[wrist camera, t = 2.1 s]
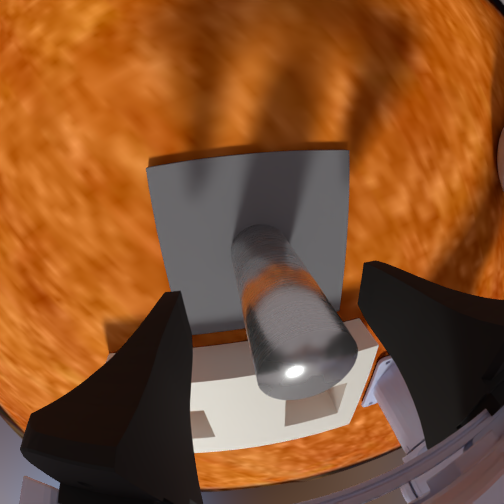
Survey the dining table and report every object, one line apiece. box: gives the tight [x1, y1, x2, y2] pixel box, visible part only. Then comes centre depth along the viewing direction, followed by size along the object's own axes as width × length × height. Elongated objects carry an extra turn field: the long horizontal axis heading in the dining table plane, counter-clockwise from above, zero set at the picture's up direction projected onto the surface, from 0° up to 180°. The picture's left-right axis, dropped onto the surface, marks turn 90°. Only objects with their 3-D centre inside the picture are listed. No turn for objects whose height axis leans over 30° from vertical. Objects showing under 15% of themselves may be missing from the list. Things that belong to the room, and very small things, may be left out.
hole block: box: [106, 318, 379, 453], centre depth 18 cm, size 18×11×3 cm, turn 94°
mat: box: [146, 150, 349, 335], centre depth 14 cm, size 10×10×1 cm
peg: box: [231, 224, 358, 400], centre depth 11 cm, size 3×3×8 cm
